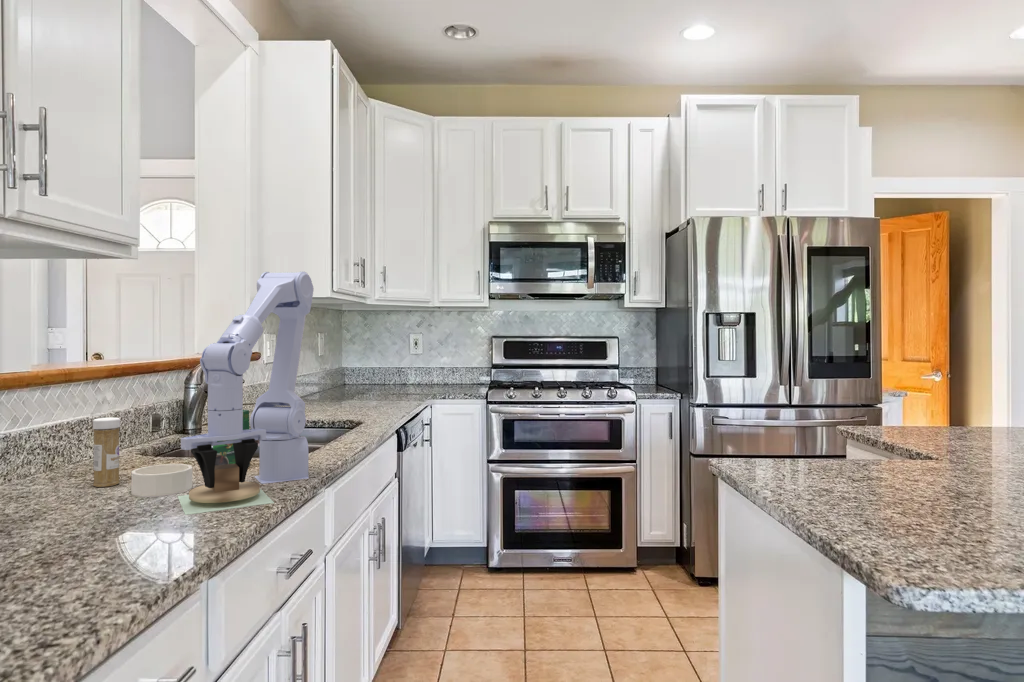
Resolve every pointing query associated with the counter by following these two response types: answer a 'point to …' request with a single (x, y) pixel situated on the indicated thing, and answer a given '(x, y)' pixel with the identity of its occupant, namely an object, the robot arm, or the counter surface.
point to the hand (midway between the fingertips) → (225, 484)
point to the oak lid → (225, 487)
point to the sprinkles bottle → (106, 451)
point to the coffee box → (229, 446)
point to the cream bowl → (161, 480)
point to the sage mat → (221, 504)
